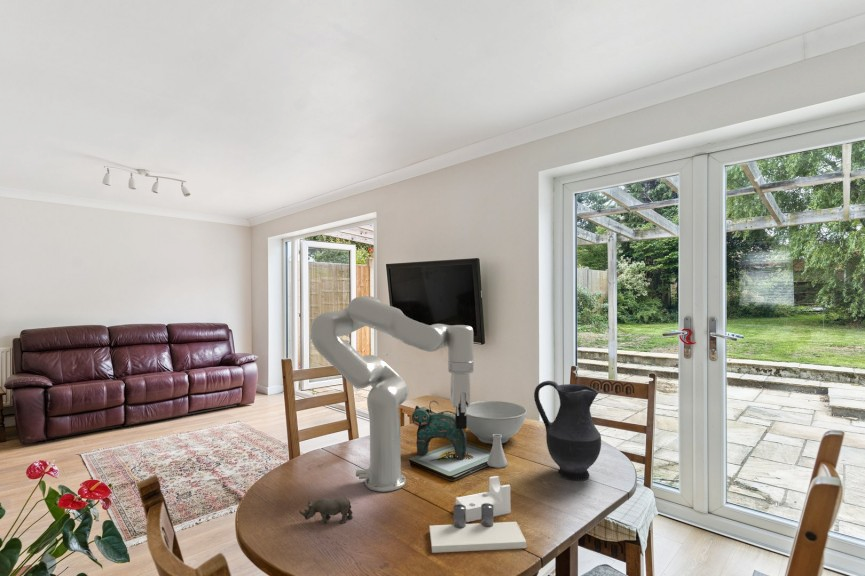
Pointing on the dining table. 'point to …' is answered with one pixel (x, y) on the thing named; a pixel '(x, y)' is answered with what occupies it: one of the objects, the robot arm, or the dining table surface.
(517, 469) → the dining table surface
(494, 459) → the flask
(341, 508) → the rhino figurine
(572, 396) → the pitcher
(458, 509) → the peg
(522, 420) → the decorative bowl
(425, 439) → the cat figurine
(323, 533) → the dining table surface
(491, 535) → the board
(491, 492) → the bracket
